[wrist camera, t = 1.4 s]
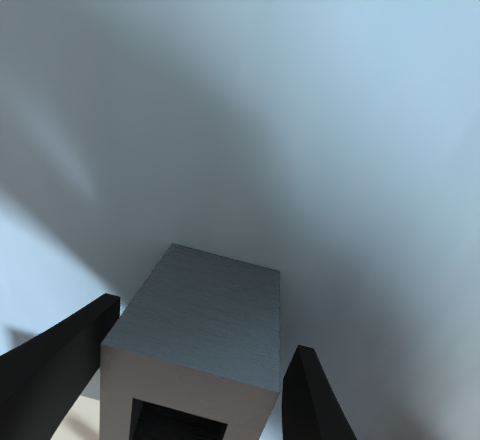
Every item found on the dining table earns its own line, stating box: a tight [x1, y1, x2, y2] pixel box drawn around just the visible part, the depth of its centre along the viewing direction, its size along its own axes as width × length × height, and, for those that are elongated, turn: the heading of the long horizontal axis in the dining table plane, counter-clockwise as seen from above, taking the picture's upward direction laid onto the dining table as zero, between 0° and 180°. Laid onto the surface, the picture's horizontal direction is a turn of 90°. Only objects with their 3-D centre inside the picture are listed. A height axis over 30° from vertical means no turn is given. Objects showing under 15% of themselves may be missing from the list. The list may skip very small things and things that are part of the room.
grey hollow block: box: [99, 244, 280, 440], centre depth 10 cm, size 6×4×5 cm
